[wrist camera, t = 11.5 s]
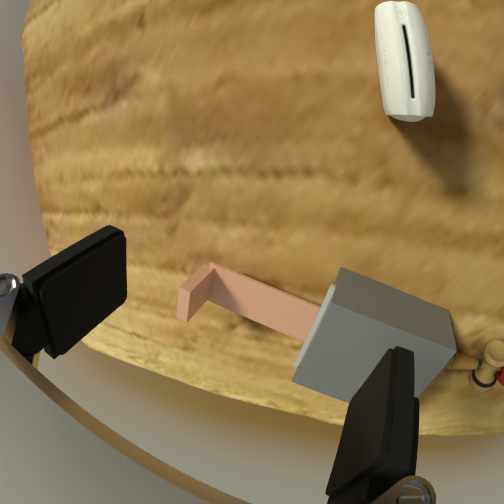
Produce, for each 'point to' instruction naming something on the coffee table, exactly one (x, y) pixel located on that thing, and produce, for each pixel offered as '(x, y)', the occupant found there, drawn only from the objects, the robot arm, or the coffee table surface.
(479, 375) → the kendama
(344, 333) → the block
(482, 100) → the coffee table surface
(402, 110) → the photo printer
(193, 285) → the pink l-shaped bracket
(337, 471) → the robot arm
